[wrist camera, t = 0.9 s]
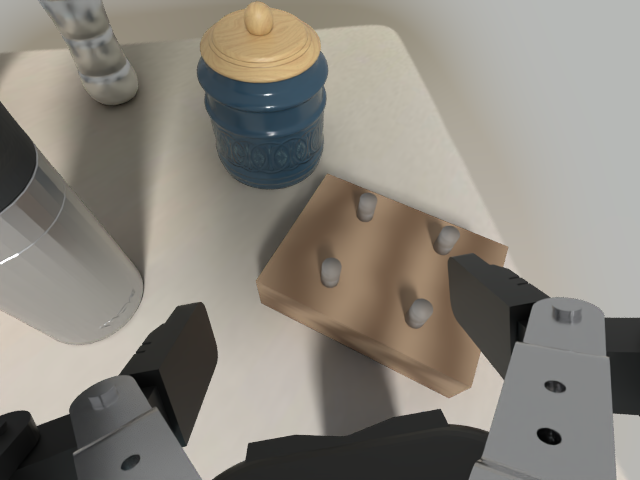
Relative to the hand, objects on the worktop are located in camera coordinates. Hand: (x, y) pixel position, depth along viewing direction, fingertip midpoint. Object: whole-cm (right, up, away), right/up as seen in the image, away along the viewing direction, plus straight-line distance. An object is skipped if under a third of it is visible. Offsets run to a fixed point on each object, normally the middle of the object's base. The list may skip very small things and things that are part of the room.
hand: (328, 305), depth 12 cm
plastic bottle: (-28, +22, +39) cm, 53 cm away
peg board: (+6, -3, +25) cm, 26 cm away
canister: (-6, +13, +35) cm, 38 cm away
